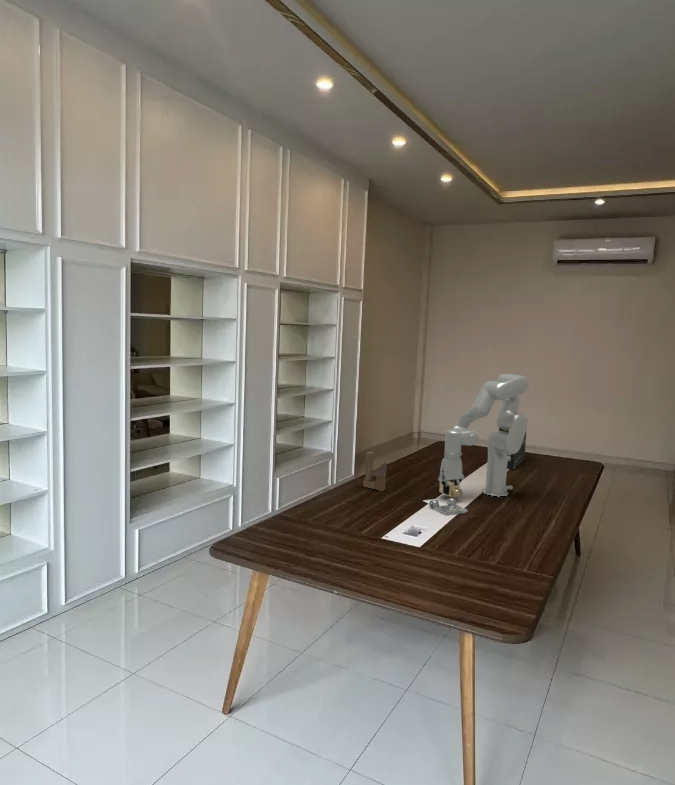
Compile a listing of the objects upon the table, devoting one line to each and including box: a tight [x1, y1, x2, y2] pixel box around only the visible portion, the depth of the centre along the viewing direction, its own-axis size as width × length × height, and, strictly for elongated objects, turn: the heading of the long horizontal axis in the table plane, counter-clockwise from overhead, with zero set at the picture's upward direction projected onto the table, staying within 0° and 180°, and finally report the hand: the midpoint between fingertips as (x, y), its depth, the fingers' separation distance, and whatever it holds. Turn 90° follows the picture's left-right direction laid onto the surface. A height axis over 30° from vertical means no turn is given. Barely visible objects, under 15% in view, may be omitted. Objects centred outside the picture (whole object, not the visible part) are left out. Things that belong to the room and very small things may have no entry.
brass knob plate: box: [438, 480, 463, 498], centre depth 273 cm, size 5×12×5 cm, turn 26°
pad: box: [422, 498, 448, 507], centre depth 266 cm, size 7×10×1 cm
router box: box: [498, 427, 528, 470], centre depth 355 cm, size 36×11×27 cm, turn 152°
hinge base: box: [428, 497, 469, 516], centre depth 256 cm, size 14×12×4 cm
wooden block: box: [362, 451, 388, 492], centre depth 284 cm, size 4×11×18 cm, turn 56°
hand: (450, 492), depth 274 cm, fingers closed on brass knob plate, 5 cm apart
